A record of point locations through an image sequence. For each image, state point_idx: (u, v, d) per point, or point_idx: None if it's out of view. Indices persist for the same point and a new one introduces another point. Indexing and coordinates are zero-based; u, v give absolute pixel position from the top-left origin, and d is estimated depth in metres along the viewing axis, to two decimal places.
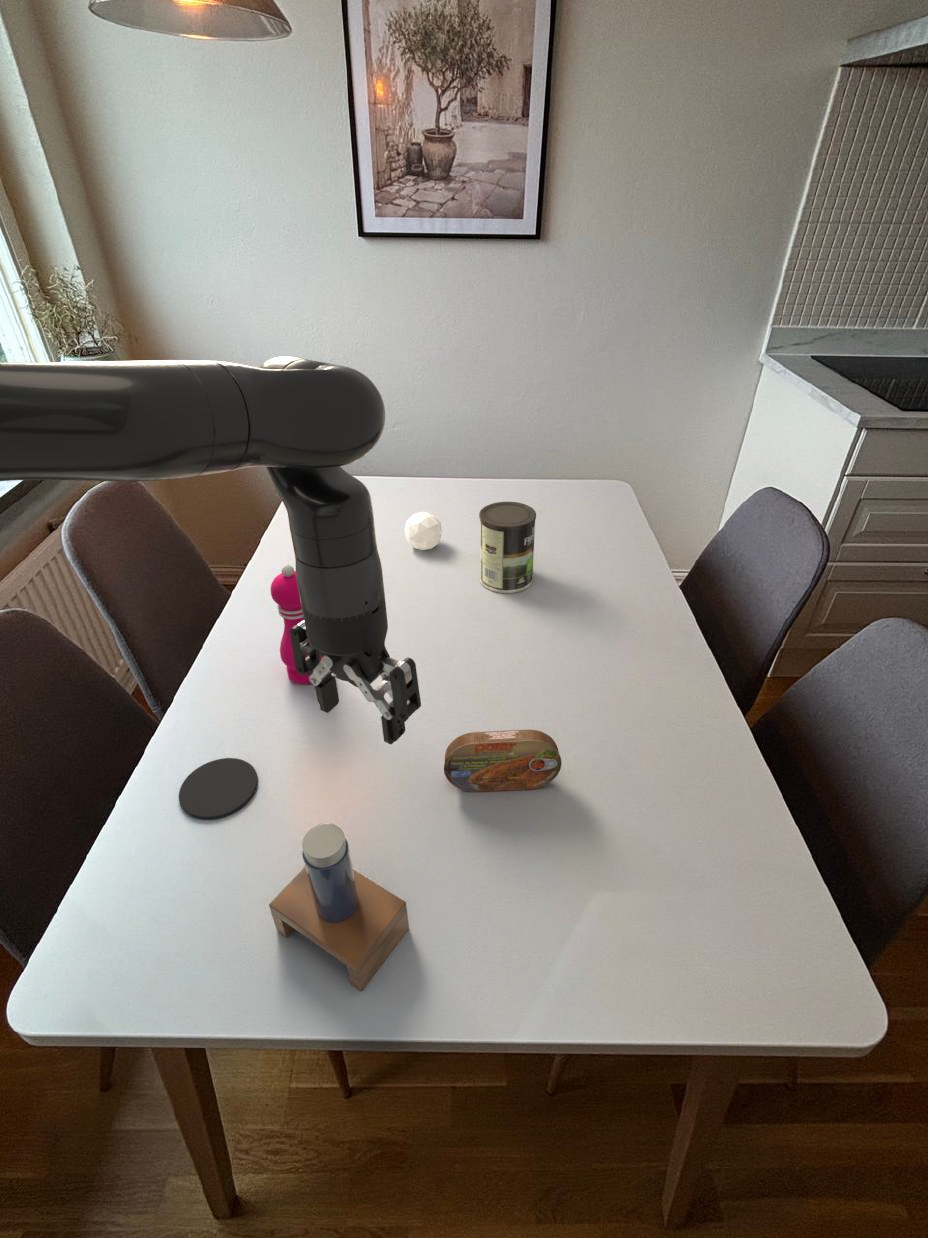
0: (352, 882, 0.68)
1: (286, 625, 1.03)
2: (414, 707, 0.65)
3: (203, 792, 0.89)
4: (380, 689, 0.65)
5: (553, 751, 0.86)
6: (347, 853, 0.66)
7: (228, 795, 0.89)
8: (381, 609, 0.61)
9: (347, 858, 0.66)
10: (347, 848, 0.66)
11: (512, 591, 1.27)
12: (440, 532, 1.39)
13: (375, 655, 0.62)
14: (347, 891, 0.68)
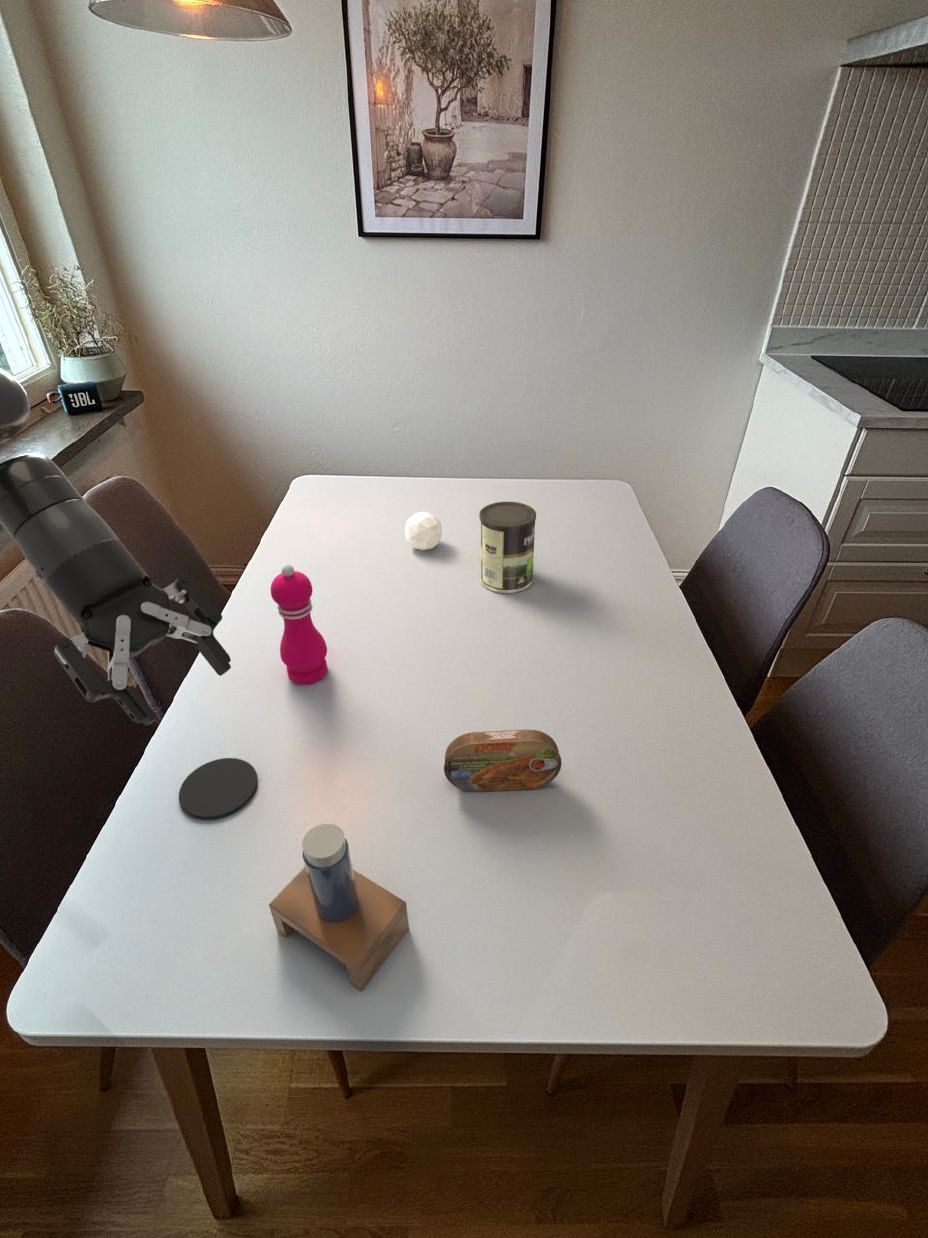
0: (352, 882, 0.68)
1: (286, 625, 1.03)
2: None
3: (203, 792, 0.89)
4: None
5: (553, 751, 0.86)
6: (347, 853, 0.66)
7: (228, 795, 0.89)
8: None
9: (347, 858, 0.66)
10: (347, 848, 0.66)
11: (512, 591, 1.27)
12: (440, 532, 1.39)
13: None
14: (347, 891, 0.68)
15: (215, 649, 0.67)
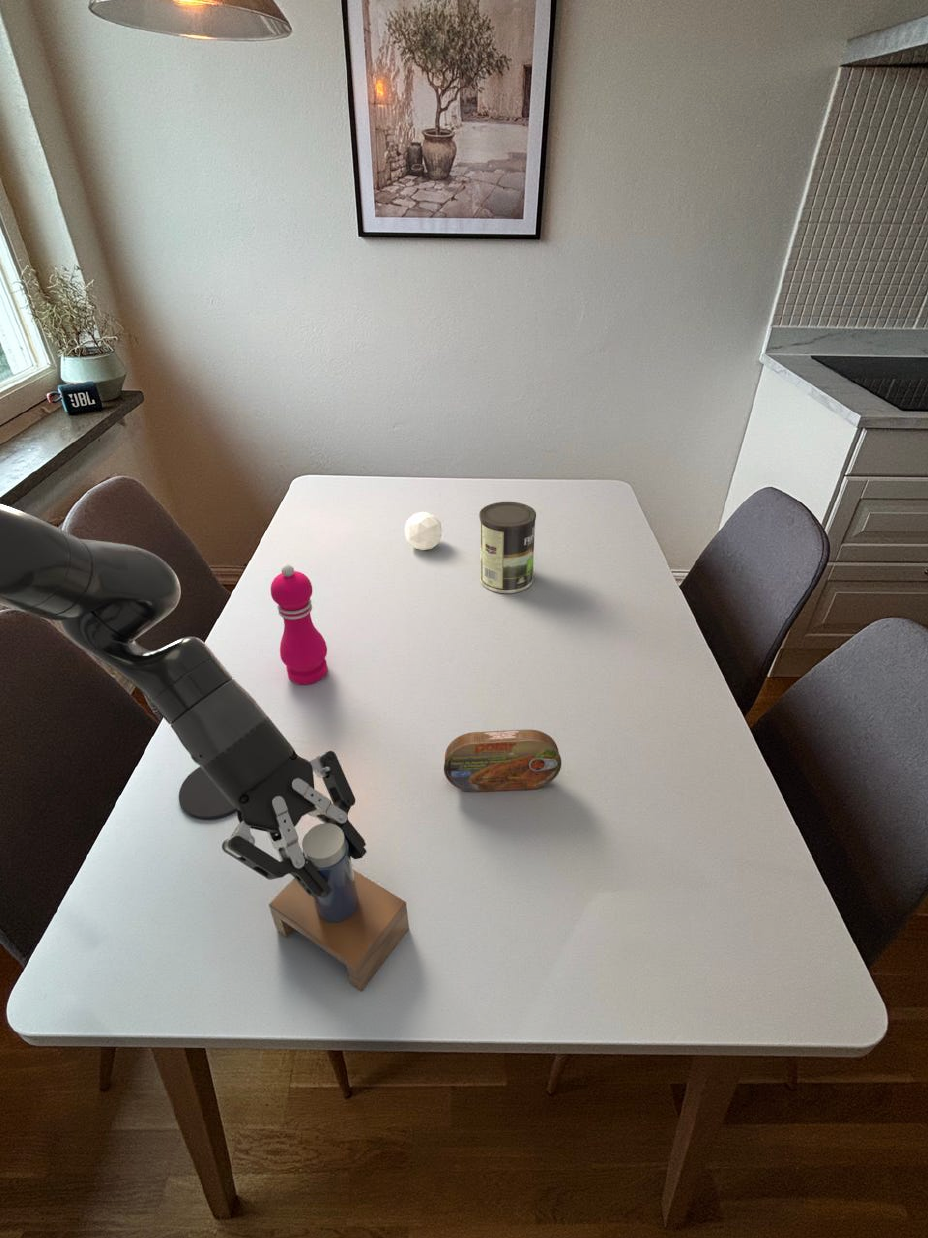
0: (352, 882, 0.68)
1: (286, 625, 1.03)
2: None
3: (203, 792, 0.89)
4: None
5: (553, 751, 0.86)
6: (347, 853, 0.66)
7: None
8: None
9: (347, 858, 0.66)
10: (347, 848, 0.66)
11: (512, 591, 1.27)
12: (439, 532, 1.39)
13: (298, 756, 0.67)
14: (347, 891, 0.68)
15: (352, 836, 0.67)
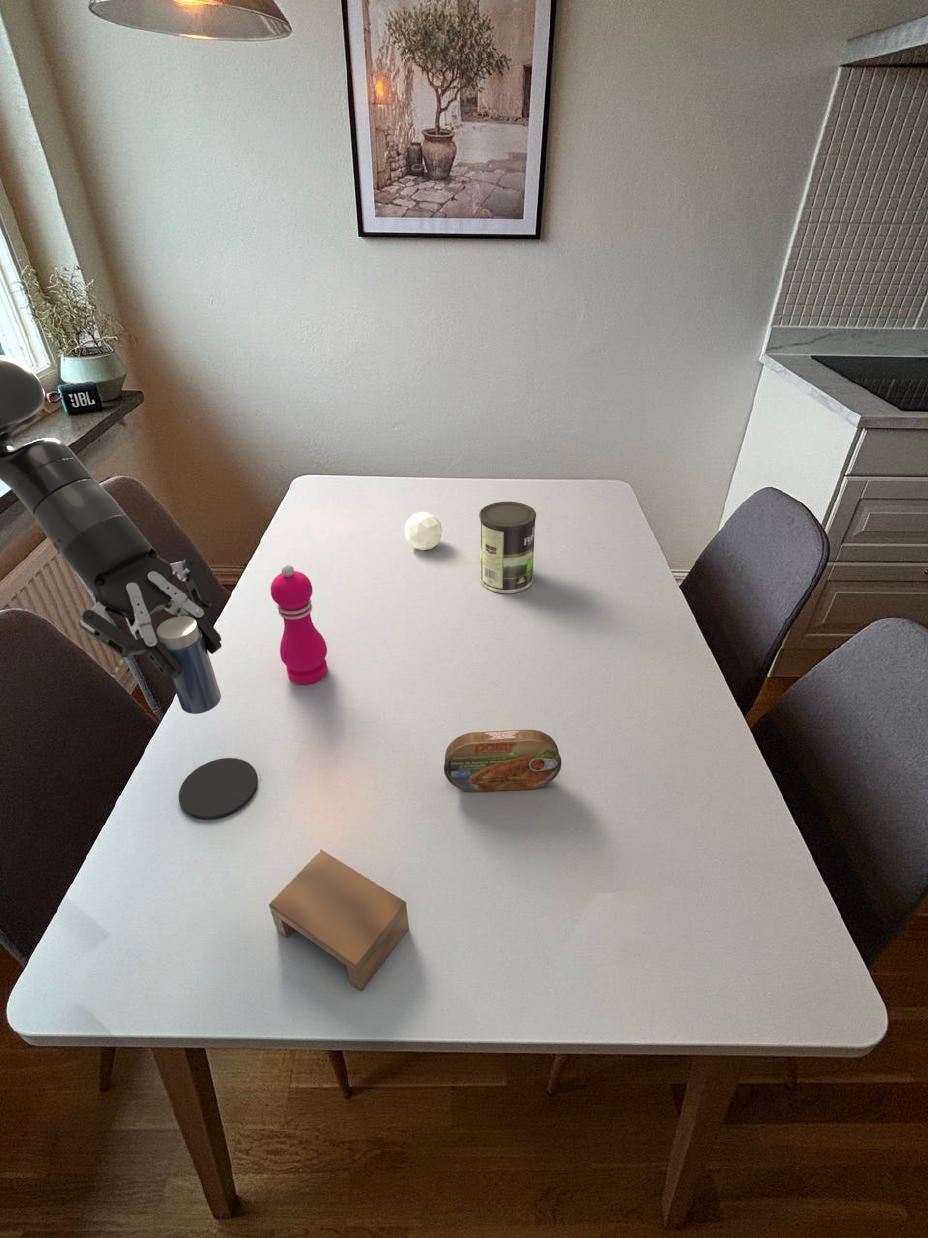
0: (209, 674, 0.75)
1: (286, 625, 1.03)
2: None
3: (203, 792, 0.89)
4: None
5: (553, 751, 0.86)
6: (200, 641, 0.72)
7: (228, 795, 0.89)
8: None
9: (200, 645, 0.72)
10: (200, 637, 0.73)
11: (512, 591, 1.27)
12: (439, 532, 1.39)
13: None
14: (204, 680, 0.74)
15: (207, 629, 0.74)
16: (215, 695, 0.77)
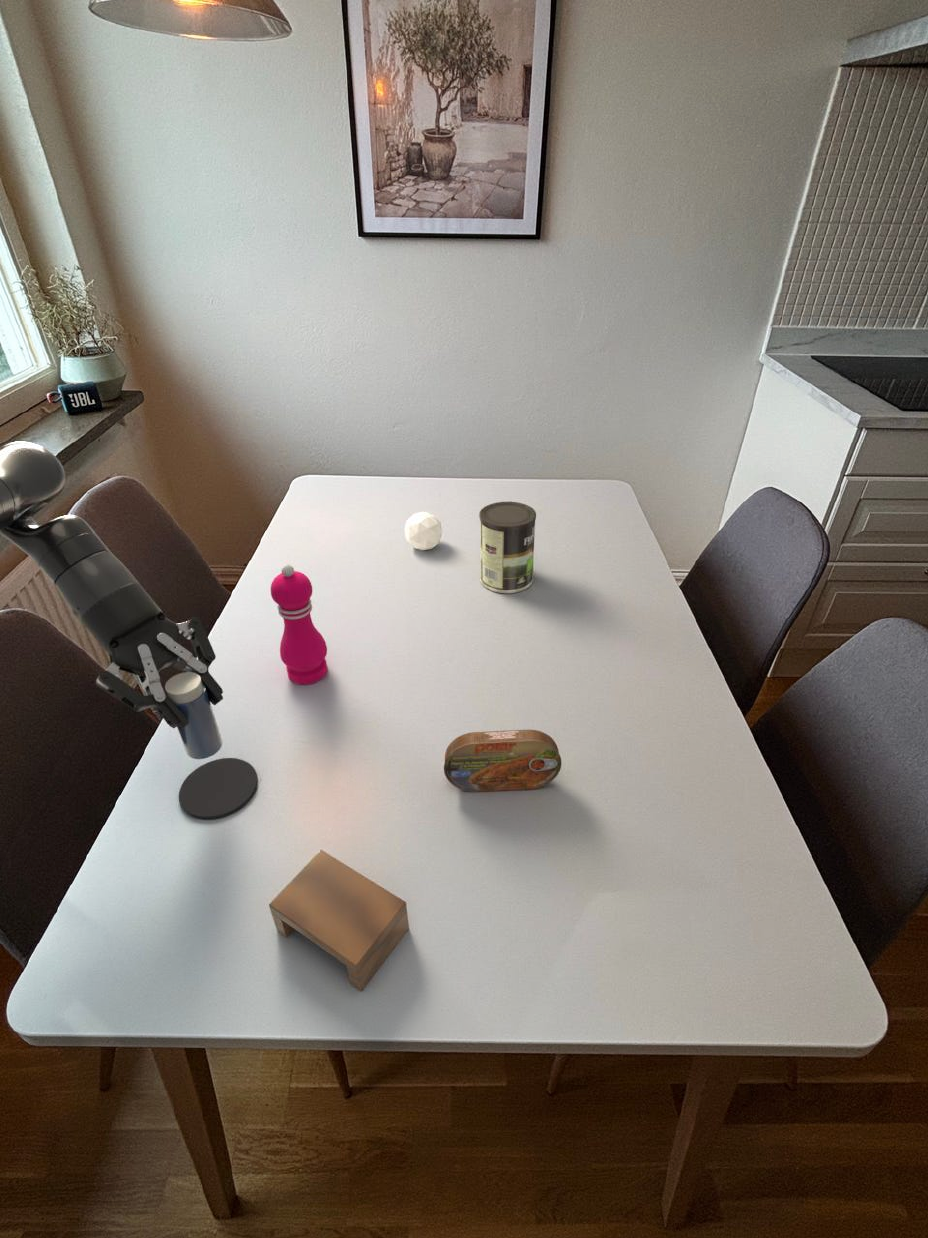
0: (212, 723, 0.83)
1: (286, 625, 1.03)
2: None
3: (203, 792, 0.89)
4: None
5: (553, 751, 0.86)
6: (204, 695, 0.80)
7: (228, 795, 0.89)
8: None
9: (204, 699, 0.80)
10: (204, 691, 0.81)
11: (512, 591, 1.27)
12: (439, 532, 1.39)
13: (166, 618, 0.82)
14: (207, 729, 0.82)
15: (210, 683, 0.82)
16: (217, 742, 0.84)
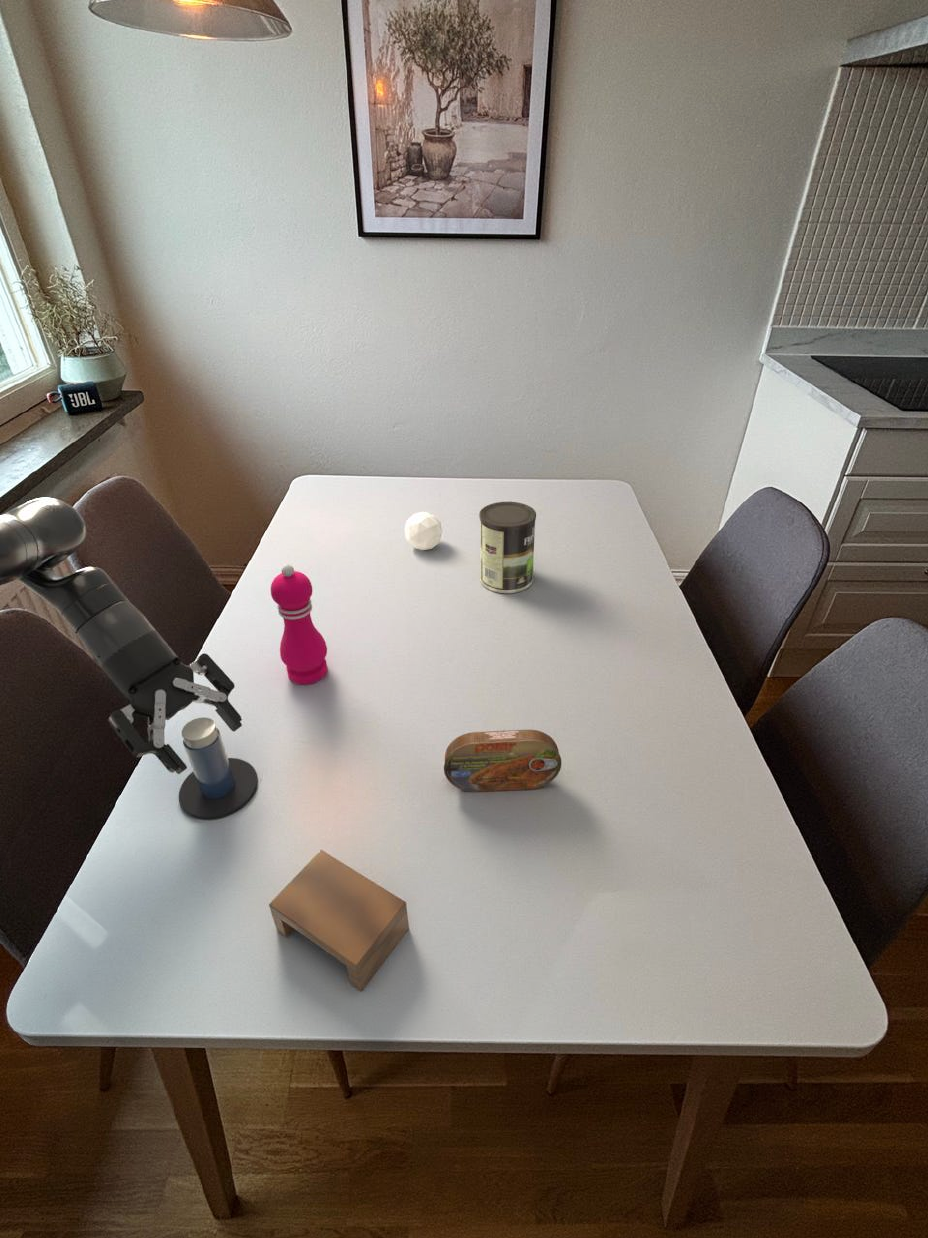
0: (225, 765, 0.87)
1: (286, 625, 1.03)
2: None
3: None
4: None
5: (553, 751, 0.86)
6: (218, 739, 0.85)
7: (228, 795, 0.89)
8: None
9: (218, 743, 0.85)
10: (218, 736, 0.85)
11: (512, 591, 1.27)
12: (439, 532, 1.39)
13: (181, 663, 0.86)
14: (221, 771, 0.86)
15: (229, 711, 0.87)
16: (230, 782, 0.89)
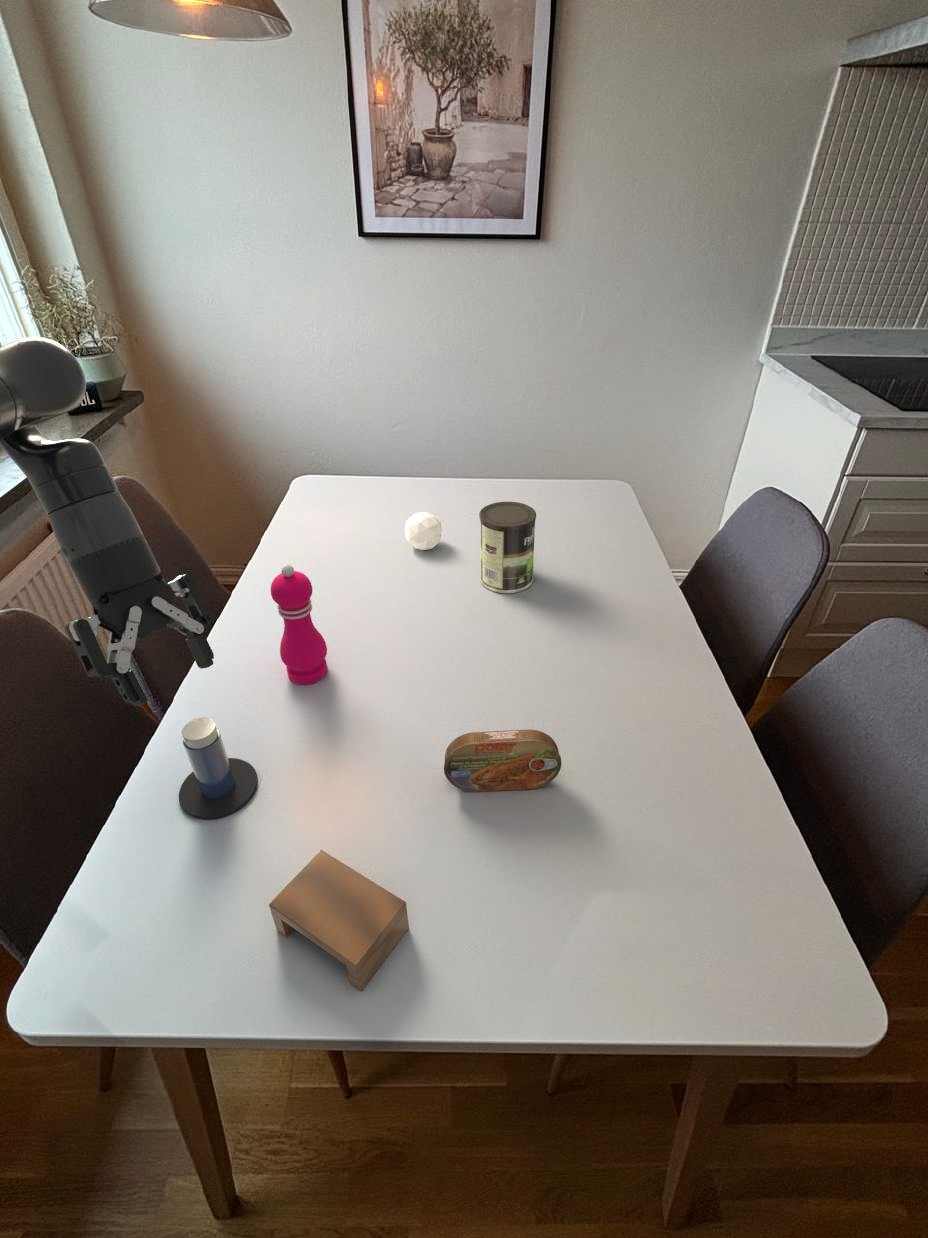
0: (225, 765, 0.87)
1: (286, 625, 1.03)
2: None
3: None
4: None
5: (553, 751, 0.86)
6: (218, 739, 0.85)
7: (228, 795, 0.89)
8: None
9: (218, 743, 0.85)
10: (218, 736, 0.85)
11: (512, 591, 1.27)
12: (439, 532, 1.39)
13: (162, 578, 0.73)
14: (221, 771, 0.86)
15: (204, 646, 0.76)
16: (230, 782, 0.89)
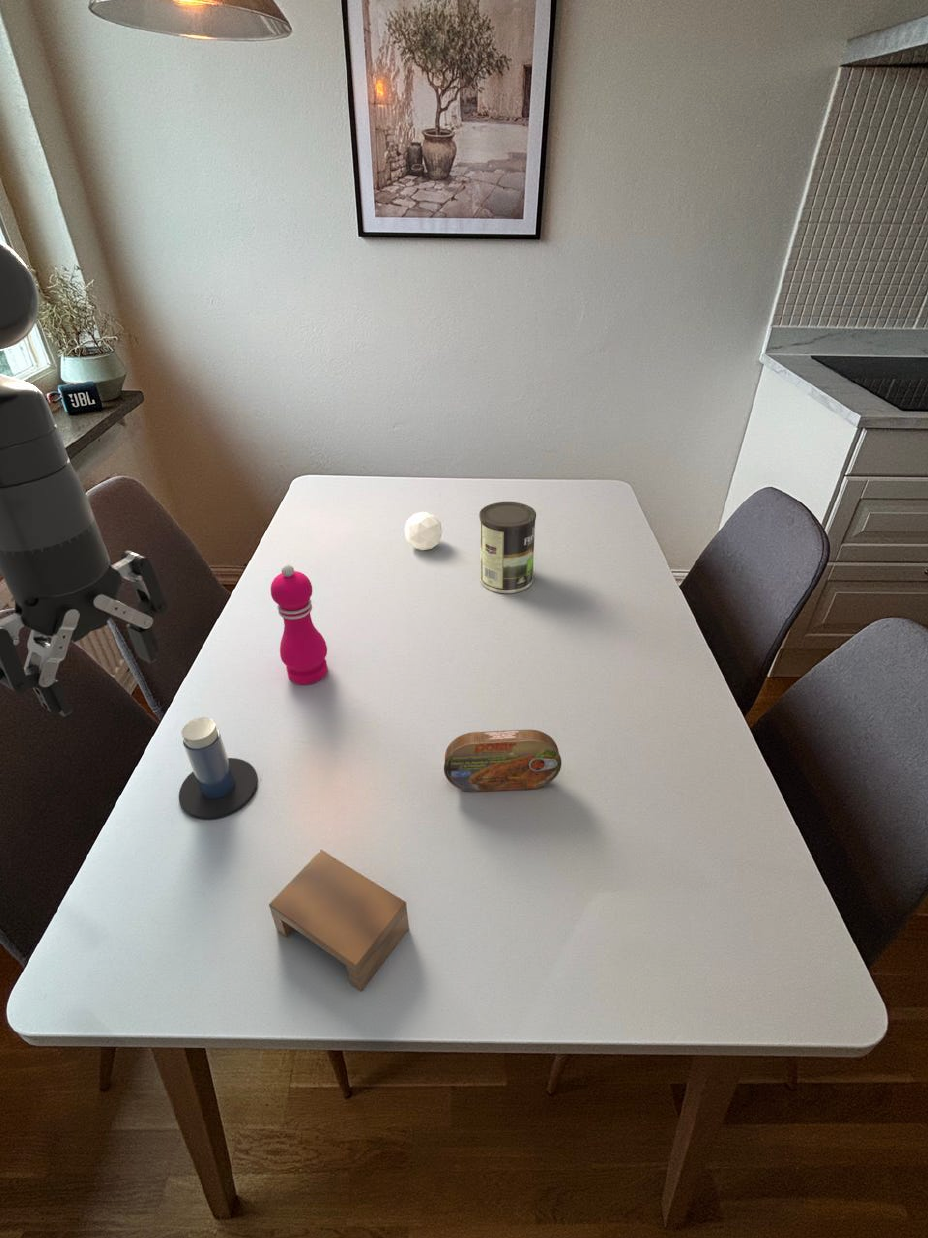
0: (225, 765, 0.87)
1: (286, 625, 1.03)
2: None
3: None
4: None
5: (553, 751, 0.86)
6: (218, 739, 0.85)
7: (228, 795, 0.89)
8: None
9: (218, 743, 0.85)
10: (218, 736, 0.85)
11: (512, 591, 1.27)
12: (439, 532, 1.39)
13: (110, 564, 0.58)
14: (221, 771, 0.86)
15: (149, 642, 0.63)
16: (230, 782, 0.89)
